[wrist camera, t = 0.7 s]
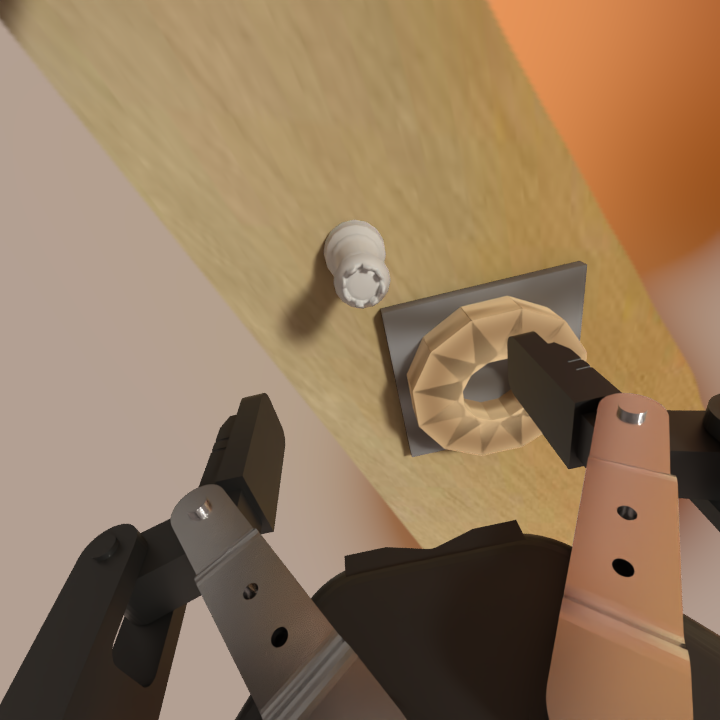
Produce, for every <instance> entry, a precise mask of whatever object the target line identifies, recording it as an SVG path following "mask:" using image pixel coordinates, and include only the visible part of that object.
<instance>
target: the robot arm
mask: <svg viewBox="0 0 720 720" xmlns="http://www.w3.org/2000/svg"><path fill="white" fill-rule="evenodd" d="M507 354H508V380H509V385H510V388H511V390H512V392H513V394H514V396H515V397H516V398H517V400H518V401H519V402H520V404H521V405H522V407H523V408H524V409H525V411H526V412H527V413H528V415H529V416H530V417H531V419H532V420H533V422H534V423H535V424H536V426H537V427H538V428H539V430H540V431H541V432H542V434H543V435H544V436H545V438H546V439H547V441H548V442H549V443H550V445H551V446H552V447H553V449H554V450H555V451H556V453H557V454H558V456H559V457H560V458H561V460H562V461H563V462H564V464H565V465H566V466H567V468H568V469H572V468H577V467H581V466H584V467H585V468H586V473H585V478H584V484H583V489H582V495H581V501H580V506H579V512H578V517H577V523H576V529H575V534H574V540H573V546H569V545H567V544H565V543H563V542H560V541H557V540H555V539H551V538H548V537H544V536H539V535H533V534H523V533H522V531H521V529H520V527H519V525H518V523H517V521H516V520H513V521H509V522H504V523H499V524H494V525H490V526H485V527H480V528H475V529H472V530H470V531H468V532H466V533H464V534H462V535H460V536H458V537H456V538H454V539H452V540H450V541H448V542H446V543H444V544H442V545H440V546H438V547H436V548H433V549H413V548H411V549H410V548H390V547H389V548H388V547H385V548H380V549H376V550H371V551H366V552H362V553H357V554H352V555H347V556H345V571H343V572H342V573H340V574H338V575H336V576H335V577H334V578H332V579H330V580H329V581H328V582H327V583H326V584H324V585H323V586H322V587H321V588H320V589H319V590H318V591H317V592H316V593H315V594H314V595H313V597H312V598H310V597H309V596H308V594H307V593H306V592H305V591H304V589H303V588H302V587H301V585H300V584H299V583H298V582H297V580H296V579H295V578H294V576H293V575H292V574H291V573H290V571H289V570H288V569H287V567H286V566H285V565H284V564H283V562H282V561H281V560H280V559H279V557H278V556H277V555H276V553H275V552H274V551H273V550H272V548H271V547H270V546H269V544H268V543H267V542H266V540H265V539H264V538H263V537H262V536H261V534H264V533H269V532H274V526H275V518H276V510H277V503H278V495H279V488H280V480H281V473H282V465H283V457H284V450H285V437H284V432H283V429H282V426H281V424H280V421H279V419H278V417H277V414H276V412H275V410H274V408H273V405H272V403H271V401H270V399H269V397H268V395H267V394H266V393H262V394H258V395H254V396H249V397H245V398H242V400H241V403H240V406H239V409H238V412H237V415H233V416H230V417H229V418H228V419H227V421H226V422H225V423H224V424H223V425H222V427H221V428H220V430H219V433H218V435H217V438H216V443H215V444H214V446H213V449H212V453H211V455H210V458H209V460H208V463H207V466H206V468H205V471H204V474H203V477H202V479H201V482H200V485H199V487H198V488H196V489H194V490H193V491H191V492H189V493H188V494H187V495H185V496H184V497H183V498H182V499H181V500H180V501H179V502H178V504H177V505H176V506H175V508H174V510H173V512H172V514H171V518H170V519H169V520H167V521H165V522H163V523H161V524H158V525H156V526H155V527H152V528H150V529H148V530H146V531H144V532H142V533H140V532H139V531H138V530H137V529H136V528H135V527H134V526H133V525H131V524H121V525H117V526H114V527H112V528H110V529H108V530H106V531H105V532H103V533H102V534H100V535H99V536H97V537H96V538H95V539H94V540H93V541H92V542H91V543H90V544H89V545H88V546H87V547H86V548H85V549H84V551H83V552H82V553H81V555H80V557H79V558H78V560H77V562H76V564H75V566H74V568H73V570H72V571H71V573H70V575H69V577H68V579H67V581H66V583H65V585H64V586H63V588H62V590H61V592H60V594H59V596H58V598H57V599H56V601H55V603H54V605H53V607H52V609H51V611H50V613H49V614H48V617H47V618H46V620H45V622H44V624H43V626H42V627H41V629H40V631H39V633H38V635H37V637H36V639H35V641H34V643H33V644H32V646H31V648H30V650H29V652H28V654H27V655H26V657H25V659H24V661H23V663H22V665H21V667H20V668H19V670H18V672H17V674H16V676H15V678H14V680H13V682H12V683H11V685H10V687H9V689H8V691H7V693H6V695H5V697H4V698H3V700H2V702H1V704H0V720H158V719H159V715H160V711H161V707H162V703H163V699H164V695H165V691H166V686H167V682H168V678H169V674H170V670H171V666H172V662H173V658H174V654H175V650H176V646H177V642H178V638H179V634H180V630H181V626H182V621H183V617H184V613H185V609H186V605H187V603H188V602H190V601H191V600H193V599H195V598H197V597H199V596H201V595H202V597H203V599H204V601H205V603H206V605H207V607H208V609H209V611H210V613H211V615H212V617H213V619H214V621H215V623H216V625H217V627H218V629H219V631H220V633H221V635H222V637H223V639H224V641H225V643H226V645H227V647H228V650H229V652H230V654H231V656H232V657H233V660H234V662H235V664H236V665H237V668H238V669H239V671H240V674H241V676H242V678H243V680H244V682H245V684H246V686H247V688H248V690H249V692H250V696H249V698H248V699H247V701H246V703H245V704H244V706H243V707H242V709H241V711H240V712H239V714H238V716H237V717H236V719H235V720H720V636H719V635H718V634H716V633H714V632H713V631H711V630H709V629H708V628H706V627H704V626H703V625H701V624H700V623H698V622H696V621H695V620H693V619H691V618H690V617H688V616H686V615H685V614H683V606H682V581H681V556H680V530H679V505H678V498H686V499H690V500H691V501H692V502H693V503H694V504H695V506H696V507H697V508H698V509H699V510H700V511H701V512H702V513H703V514H704V515H705V516H706V517H707V519H708V520H709V521H710V522H711V523H712V524H713V525H714V526H715V527H716V528H717V529H718V531H719V532H720V394H718V395H715V396H713V397H712V398H711V399H710V400H709V403H708V406H707V409H706V411H671V410H666V409H665V408H664V407H663V406H662V405H661V404H660V403H658V402H656V401H655V400H653V399H651V398H648V397H645V396H642V395H637V394H631V393H621V392H620V391H619V390H618V389H617V388H616V387H614V386H613V385H612V384H611V383H610V382H609V381H608V380H606V379H605V378H604V377H603V376H602V375H601V374H599V373H598V372H597V371H596V370H595V369H594V368H590V365H589V364H588V363H587V362H585V361H584V360H581V357H580V356H578V355H577V354H576V353H575V352H574V351H573V350H571V349H570V348H568V347H565V346H563V345H560V344H558V343H555V342H553V343H547V342H546V341H545V340H544V339H543V338H541V337H540V336H539V335H538V334H537V333H536V332H534V331H531V332H527V333H523V334H518V335H514V336H510V337H509V338H508V341H507ZM123 615H124V616H125V617H124V620H123V622H122V625H121V628H120V630H119V633H118V636H117V638H116V641H115V644H114V646H113V643H114V639H115V637H116V634H117V631H118V629H119V626H120V623H121V621H122V618H123ZM112 648H113V649H112Z"/></svg>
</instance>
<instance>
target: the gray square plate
mask: <svg viewBox="0 0 720 720" xmlns="http://www.w3.org/2000/svg"><path fill="white" fill-rule="evenodd" d="M586 272H587V264H585V263H583V262H581V261H577V262H573V263H569V264H564V265H560V266H556V267H552V268H548V269H544V270H539V271H535V272H531V273H527V274H523V275H519V276H514V277H510V278H506V279H502V280H498V281H494V282H489V283H485V284H481V285H477V286H473V287H469V288H464V289H460V290H456V291H452V292H448V293H443V294H439V295H435V296H431V297H427V298H423V299H418V300H414V301H410V302H406V303H402V304H398V305H393V306H389V307H385V308H381V314H382V319H383V324H384V328H385V333H386V338H387V343H388V347H389V352H390V357H391V362H392V366H393V371H394V376H395V380H396V385H397V390H398V395H399V399H400V404H401V409H402V414H403V418H404V423H405V428H406V433H407V437H408V442H409V447H410V451H411V455H412V457H415V456H420V455H424V454H429V453H433V452H438V451H442V450H447V449H448V450H453V451H459V452H464V453H469V454H475V455H480V456H481V455H482V456H483V455H487V454H492V453H496V452H501V451H505V450H510V449H515V448H519V447H523V446H524V445H526V444H527V443H529V442H531V441H532V440H534V439H535V438H537V437H538V436H540V435H542V432H541V431H540V430H539V428H538V427H537V426H536V424H535V423H534V422H533V420H532V419H531V417H530V416H529V415H528V413H527V412H526V411H525V409H524V408H523V407H522V405H521V404H520V402H519V401H518V400H517V398H516V397H515V396H514V394H513V392H512V390H511V388H510V385H509V380H508V354H507V341H508V338H509V337H510V336H514V335H518V334H523V333H527V332H531V331H534V332H536V333H537V334H538V335H539V336H540V337H541V338H543V339H544V340H545V341H546V342H547V343H553V342H555V343H558V344H560V345H563V346H565V347H568V348H570V349H571V350H573V351H574V352H575V353H576V354H577V355H578V356H580V357H581V360H584V361H585V362H586V358H587V351H586V350H585V348H584V347H583V345H582V344H581V342H580V335H581V324H582V314H583V303H584V293H585V282H586Z"/></svg>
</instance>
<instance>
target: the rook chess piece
mask: <svg viewBox="0 0 720 720" xmlns="http://www.w3.org/2000/svg"><path fill="white" fill-rule="evenodd" d="M324 256H325V260H326V264H327V268H328V269H329V270H330V272H331V273H332V274H333V276H334V286H335V290H336V293H337V295H338V296H339V297H340V299H341V300H342V301H343V302H344V303H346V304H348V305H350V306H351V307H356V308H363V309H364V308H366V307H370V306H374V305H376V304H377V303H379V301H381V300H382V299H383V297H384V296H385V295H386V293H387V292H388V289H389V285H390V275H389V270H388V268H387V267H386V265H385V264H384V261H385V256H386V252H385V246H384V241H383V238H382V237H381V235H380V234H379V232H378V230H377V229H376V228H374V227H373V226H371V225H370V224H369V223H367V222H364V221H358V220H351V221H346V222H342V223H341V224H339V225H338V226H337V227H335V228H334V229H332V230H331V232H330V234H329V235H328V237H327V239H326V241H325V247H324Z"/></svg>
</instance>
